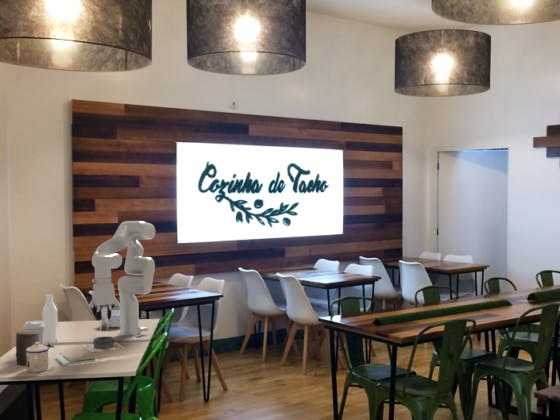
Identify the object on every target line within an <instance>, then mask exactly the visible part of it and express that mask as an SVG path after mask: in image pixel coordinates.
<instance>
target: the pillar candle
mask: <svg viewBox="0 0 560 420" xmlns="http://www.w3.org/2000/svg"><path fill="white" fill-rule="evenodd" d="M39 332H40V331H38V330H28V329H27V330H24V329H23V330H19V331H16V335H15V345H16V346H15V359H16V360H15V361H16V362H15V364H16V365H18V366H27V360H26V349H27V348H29V347H31V346H33V345H35V342H39Z"/></svg>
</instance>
